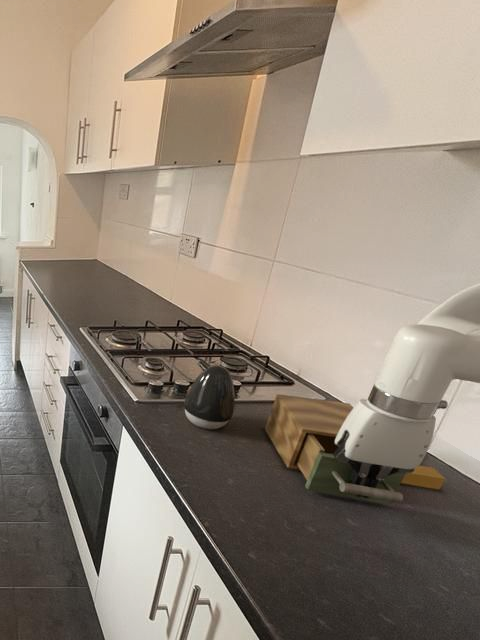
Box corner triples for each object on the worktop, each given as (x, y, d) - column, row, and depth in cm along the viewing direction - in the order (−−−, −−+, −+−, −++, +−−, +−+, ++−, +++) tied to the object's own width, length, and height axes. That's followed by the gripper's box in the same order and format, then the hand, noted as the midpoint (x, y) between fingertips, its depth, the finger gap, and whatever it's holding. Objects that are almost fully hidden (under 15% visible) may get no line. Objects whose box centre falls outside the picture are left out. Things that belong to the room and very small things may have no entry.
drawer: (406, 525, 70) (427, 489, 67) (319, 508, 73) (334, 473, 70) (351, 459, 86) (365, 427, 83) (281, 448, 89) (293, 417, 86)
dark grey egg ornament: (201, 408, 106) (215, 354, 100) (238, 430, 97) (256, 372, 91) (170, 415, 103) (183, 360, 97) (205, 439, 94) (221, 379, 88)
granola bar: (427, 478, 82) (433, 467, 81) (439, 489, 79) (445, 478, 78) (377, 470, 84) (383, 459, 83) (387, 480, 81) (393, 470, 80)
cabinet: (368, 482, 81) (388, 441, 77) (287, 468, 85) (302, 428, 81) (334, 440, 93) (349, 403, 90) (264, 429, 97) (276, 393, 93)
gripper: (445, 398, 67) (397, 487, 74) (334, 384, 71) (299, 470, 78) (480, 422, 60) (424, 517, 68) (356, 405, 65) (316, 497, 72)
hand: (357, 491), depth 73 cm, fingers closed
